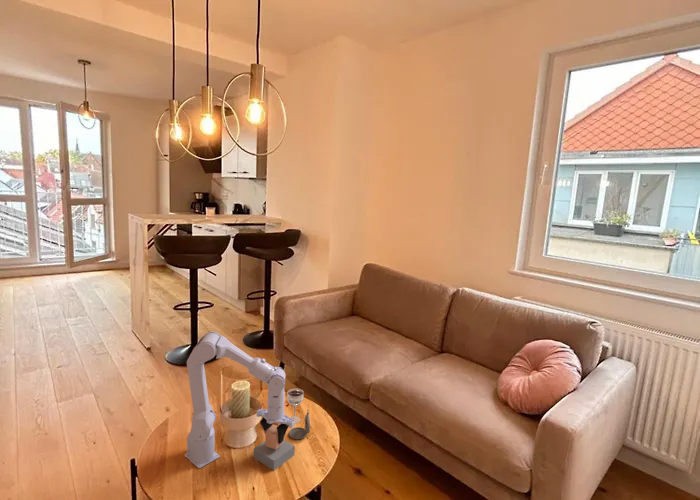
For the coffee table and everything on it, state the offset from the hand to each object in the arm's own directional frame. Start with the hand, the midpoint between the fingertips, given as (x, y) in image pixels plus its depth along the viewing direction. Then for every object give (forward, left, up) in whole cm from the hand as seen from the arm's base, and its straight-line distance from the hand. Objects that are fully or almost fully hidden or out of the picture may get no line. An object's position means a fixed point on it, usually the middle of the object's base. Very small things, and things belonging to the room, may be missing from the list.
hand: (274, 439), depth 137 cm
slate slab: (0, 0, -7) cm, 7 cm away
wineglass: (-11, +20, -7) cm, 24 cm away
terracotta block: (0, 0, -2) cm, 2 cm away
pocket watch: (-2, +15, -7) cm, 16 cm away
